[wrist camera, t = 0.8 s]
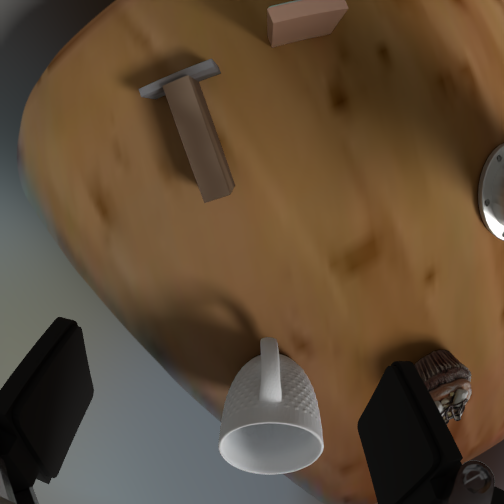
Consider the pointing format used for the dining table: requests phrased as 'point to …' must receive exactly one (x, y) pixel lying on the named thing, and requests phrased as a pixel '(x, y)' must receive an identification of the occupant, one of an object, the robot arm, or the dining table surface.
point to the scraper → (196, 127)
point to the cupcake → (446, 382)
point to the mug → (271, 416)
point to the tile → (303, 20)
